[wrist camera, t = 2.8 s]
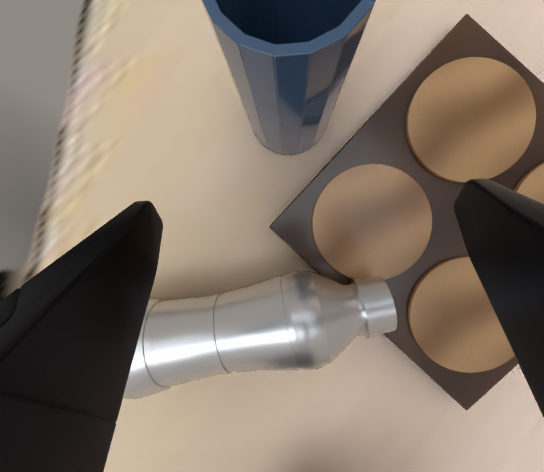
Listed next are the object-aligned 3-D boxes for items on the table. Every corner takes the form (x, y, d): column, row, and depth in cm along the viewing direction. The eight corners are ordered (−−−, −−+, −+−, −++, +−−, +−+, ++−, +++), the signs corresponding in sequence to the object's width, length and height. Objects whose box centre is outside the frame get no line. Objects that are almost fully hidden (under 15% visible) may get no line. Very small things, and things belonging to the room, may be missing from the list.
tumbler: (343, 112, 20) (431, -60, 8) (290, 171, 21) (293, 96, 8) (286, 60, 20) (283, -193, 8) (235, 119, 21) (156, -31, 8)
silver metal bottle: (101, 288, 20) (368, 234, 18) (145, 338, 24) (368, 298, 22) (46, 375, 15) (414, 310, 13) (114, 421, 19) (403, 375, 17)
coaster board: (655, 212, 19) (694, 211, 17) (454, 397, 21) (470, 415, 19) (453, 28, 20) (471, 8, 18) (270, 226, 21) (268, 227, 19)
